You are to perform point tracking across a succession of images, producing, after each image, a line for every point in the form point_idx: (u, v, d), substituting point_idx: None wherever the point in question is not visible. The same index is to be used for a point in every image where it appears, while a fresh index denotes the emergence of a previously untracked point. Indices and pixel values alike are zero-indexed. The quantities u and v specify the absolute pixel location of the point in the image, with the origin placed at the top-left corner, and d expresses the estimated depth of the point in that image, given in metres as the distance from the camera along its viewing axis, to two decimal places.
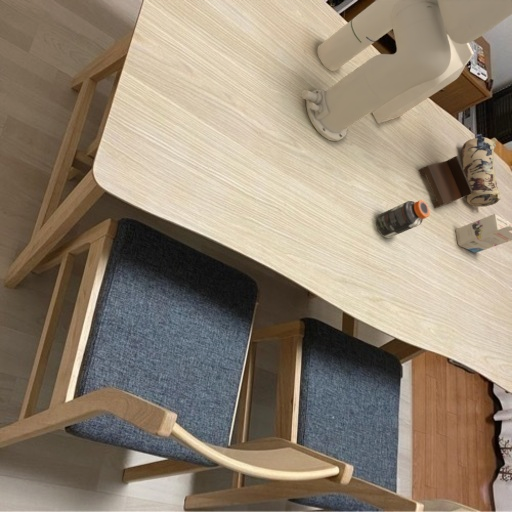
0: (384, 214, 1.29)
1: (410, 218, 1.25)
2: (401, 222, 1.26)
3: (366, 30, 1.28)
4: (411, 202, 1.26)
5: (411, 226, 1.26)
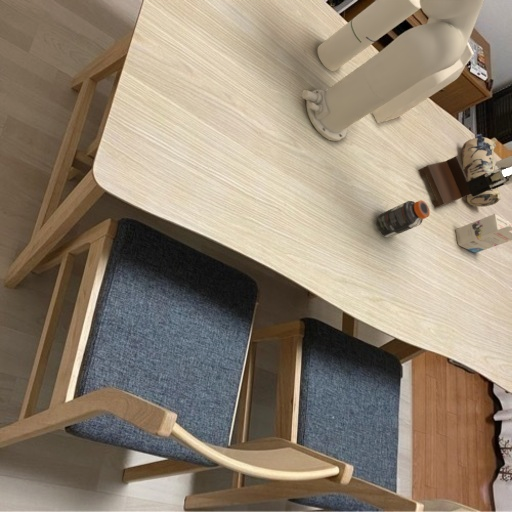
0: (384, 214, 1.29)
1: (410, 218, 1.25)
2: (401, 222, 1.26)
3: (366, 30, 1.28)
4: (411, 202, 1.26)
5: (411, 226, 1.26)
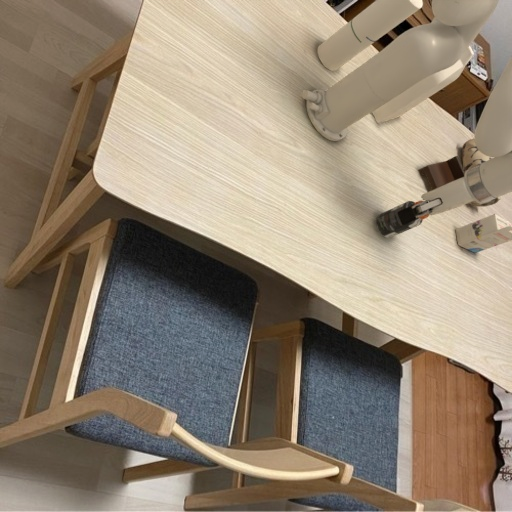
0: (384, 214, 1.29)
1: None
2: (400, 222, 1.26)
3: (366, 30, 1.28)
4: (411, 202, 1.26)
5: (411, 226, 1.26)
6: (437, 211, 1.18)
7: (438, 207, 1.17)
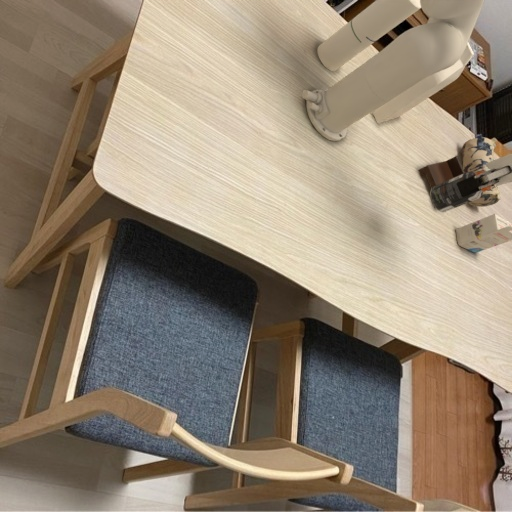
0: (440, 186, 1.19)
1: None
2: (459, 194, 1.16)
3: (366, 30, 1.28)
4: (471, 173, 1.16)
5: (471, 199, 1.16)
6: (505, 181, 1.07)
7: (506, 176, 1.06)
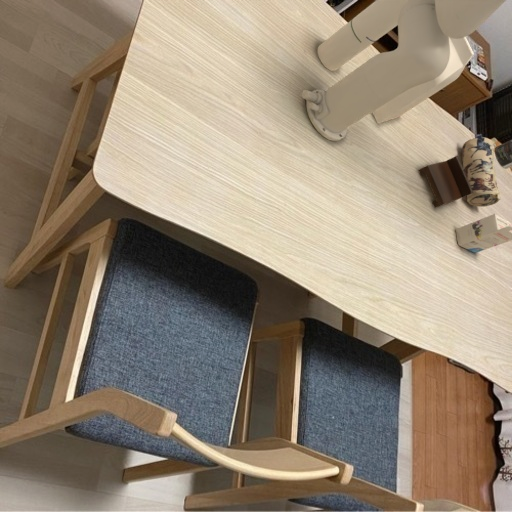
0: (504, 145, 1.36)
1: None
2: None
3: (366, 30, 1.28)
4: None
5: None
6: None
7: None
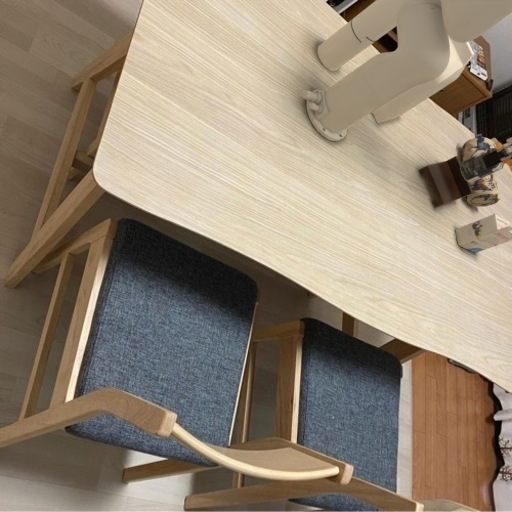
0: (468, 160, 1.45)
1: None
2: (484, 166, 1.42)
3: (366, 30, 1.28)
4: (494, 149, 1.42)
5: (494, 170, 1.42)
6: None
7: None
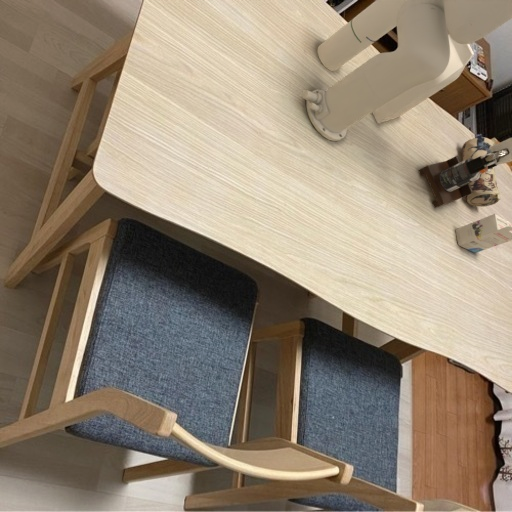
0: (447, 170, 1.50)
1: None
2: (463, 176, 1.46)
3: (366, 30, 1.28)
4: (472, 159, 1.46)
5: (472, 180, 1.46)
6: (504, 160, 1.36)
7: (505, 157, 1.36)
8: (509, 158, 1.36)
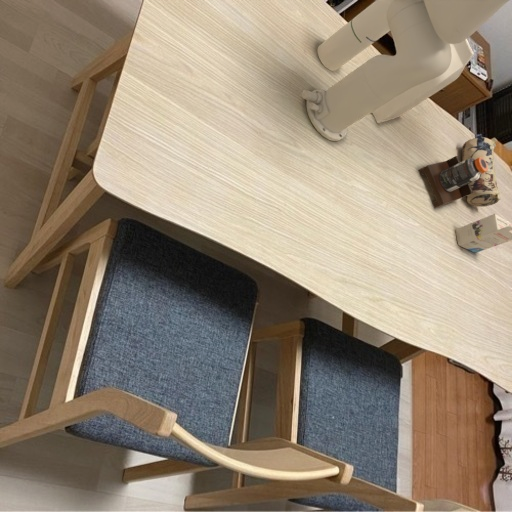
0: (447, 170, 1.50)
1: (471, 172, 1.45)
2: (463, 176, 1.46)
3: (366, 30, 1.28)
4: (472, 159, 1.46)
5: (472, 180, 1.46)
6: None
7: None
8: None
